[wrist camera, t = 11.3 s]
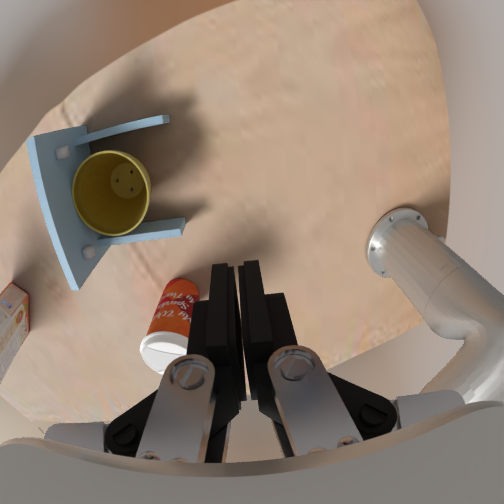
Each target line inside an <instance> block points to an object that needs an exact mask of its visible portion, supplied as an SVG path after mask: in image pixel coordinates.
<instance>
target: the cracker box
mask: <svg viewBox="0 0 504 504" xmlns="http://www.w3.org/2000/svg"><path fill="white" fill-rule="evenodd" d="M28 334H29V294H27V293H26V292H24V291H23V290H22V289H20V288H19V287H17V286H16V285H15V284H13V283H12V282H10V284H9V285H8V286H7V287H6V288H5V289H4V290H3V291H2V293H1V294H0V384H1V382H2V380H3V378H4V376H5V374H6V372H7V370H8V368H9V366H10V364H11V363H12V361H13V359H14V357H15V356H16V354H17V352H18V350H19V349H20V347H21V345H22V344H23V342H24V340H25V339H26V337H27V336H28Z"/></svg>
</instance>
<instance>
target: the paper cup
mask: <svg viewBox="0 0 504 504" xmlns="http://www.w3.org/2000/svg"><path fill="white" fill-rule="evenodd" d="M195 301H199V291H198V288H197V287H196V285H195V284H194V283H192V282H191V281H189V280H186V279H174V280H172V281H170V282H169V283H168V284H167V285H166V287H165V289H164V292H163V294H162V296H161V299H160V301H159V304H158V306H157V309H156V311H155V314H154V317H153V319H152V322H151V324H150V327H149V330H148V332H147V335H146V337H144V339H143V340H142V342H141V346H140V352H141V355H142V358H143V359H144V361H145V362H146V364H147V365H148V366H149V367H150V368H152V369H153V370H155V371H156V372H158V373H160V374H164V371H165V370H166V368H167V366H168V365H169V364H170V363H171V362H172V361H173V360H175V359H176V358H178V357H180V356H184V355H186V352H187V345H188V337H189V330H190V323H191V317H192V310H193V304H194V302H195Z"/></svg>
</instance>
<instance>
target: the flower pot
mask: <svg viewBox="0 0 504 504" xmlns="http://www.w3.org/2000/svg"><path fill="white" fill-rule="evenodd" d="M130 171H133V173H132V174H131V173H130ZM117 179H118V180H119V182H117V181H116V180H117ZM131 188H133V191H131ZM72 198H73V202H74V206H75V208H76V211H77V213H78V215H79V216H80V218H81V219H82V220H83V222H84V223H85V224H86V225H87V226H89V227H90V228H91V229H93V230H94V231H96V232H98V233H101V234H104V235H108V236H118V235H123V234H126V233H128V232H130V231H132V230H133V229H135V228H136V227H137V226H138V225H139V224H140V223H141V221H142V220H143V218H144V217H145V215H146V212H147V210H148V207H149V203H150V198H151V183H150V178H149V175H148V172H147V170H146V168H145V167H144V165H143V164H142V163H141V162H140V161H139V160H138V159H137V158H135V157H134V156H132V155H130V154H128V153H125V152H121V151H114V150H107V151H101V152H97V153H95V154H93V155H91V156H89V157H88V158H87V159H85V160H84V161H83V162H82V164H81V165H80V166H79V168H78V169H77V171H76V173H75V176H74V179H73V184H72Z"/></svg>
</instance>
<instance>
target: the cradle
mask: <svg viewBox="0 0 504 504" xmlns="http://www.w3.org/2000/svg"><path fill="white" fill-rule="evenodd" d="M169 122H170V115H160V116H155V117H150V118H146V119H141V120H137V121H133V122H129V123H125V124H121V125H117V126H113V127H110V128H106V129H103V130H99V131H96V132H93V133H90V134H87V127H86V125H83V126H78V127H72V128H67V129H62V130H57V131H53V132H48V133H44V134H40V135H36V136H33V137H31V138H29V139H27V147H28V153H29V158H30V163H31V168H32V173H33V178H34V182H35V186H36V190H37V194H38V198H39V202H40V205H41V209H42V212H43V216H44V219H45V222H46V225H47V228H48V231H49V234H50V237H51V240H52V243H53V246H54V248H55V251H56V254H57V256H58V259H59V262H60V264H61V267H62V269H63V271H64V274H65V276H66V278H67V281H68V283H69V285H70V288H71V290H80V288H81V287H82V285H83V284H84V282H85V281H86V279H87V278H88V276H89V275H90V273H91V272H92V270H93V269H94V268H95V266H96V265H97V263H98V262H99V261H100V259H101V258H102V257H103V255H104V254H105V252H106V251H107V250H108V248H109V247H110V246H111V245H115V244H122V243H130V242H138V241H146V240H153V239H162V238H170V237H178V236H182V233H183V230H184V228H185V225H186V222H185V217H181V218H173V219H166V220H158V221H151V222H144V223H140V224H139V225H138V226H137V227H136V228H135V229H133V230H132V231H130V232H128V233H126V234H123V235H118V236H108V235H104V234H101V233H98V232H96V231H94V230H93V229H91V228H90V227H89V226H87V225H86V224H85V223H84V222H83V220H82V219H81V218H80V216H79V215H78V213H77V211H76V208H75V206H74V202H73V198H72V184H73V179H74V176H75V173H76V171H77V169H78V168H79V166H80V165H81V164H82V162H83V161H84V160H85V159H87V158H88V157H89V156H91V152H90V146H89V142H91V141H94V140H97V139H101V138H104V137H108V136H112V135H115V134H119V133H123V132H127V131H131V130H136V129H140V128H144V127H149V126H154V125H159V124H164V123H169Z"/></svg>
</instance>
